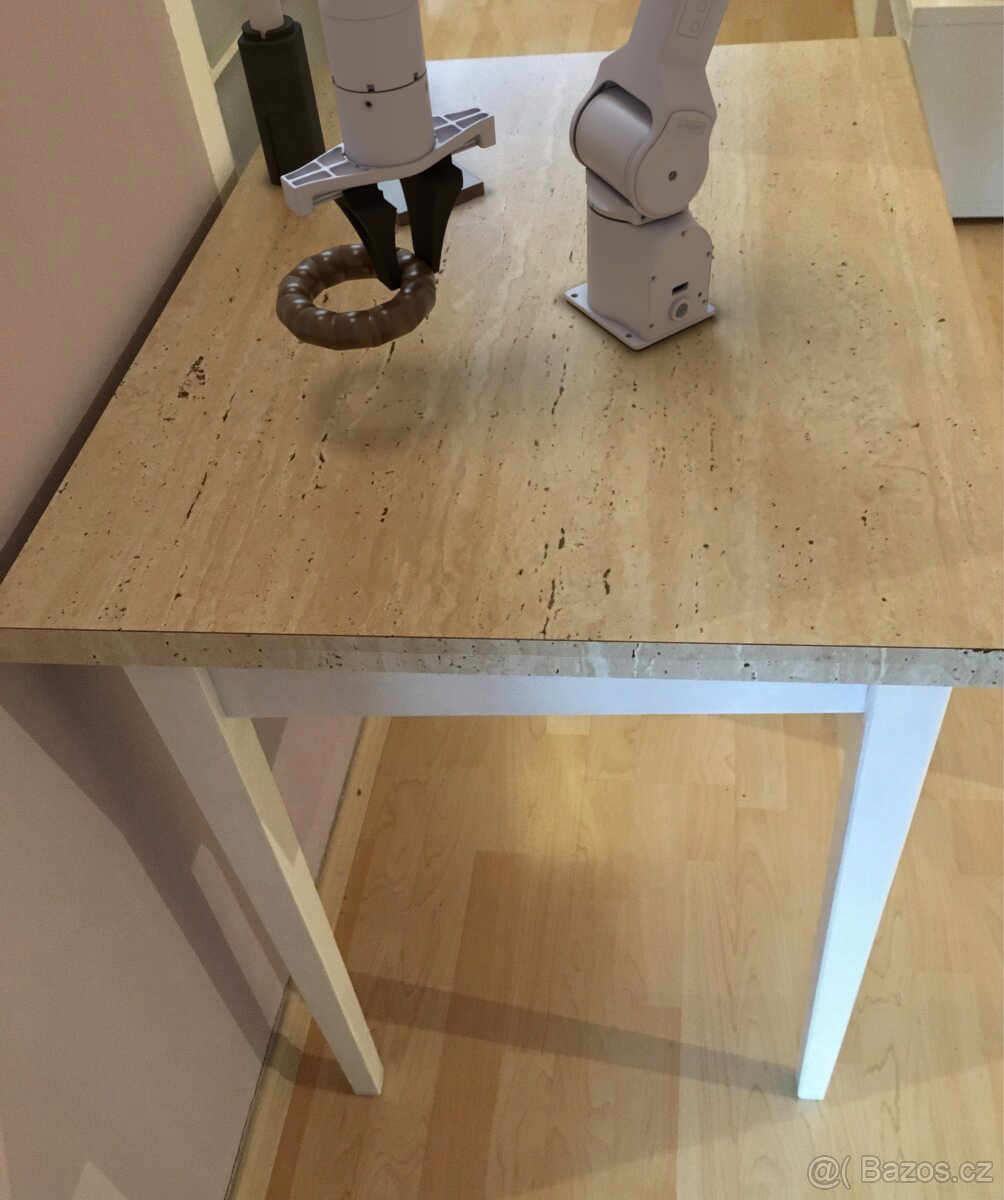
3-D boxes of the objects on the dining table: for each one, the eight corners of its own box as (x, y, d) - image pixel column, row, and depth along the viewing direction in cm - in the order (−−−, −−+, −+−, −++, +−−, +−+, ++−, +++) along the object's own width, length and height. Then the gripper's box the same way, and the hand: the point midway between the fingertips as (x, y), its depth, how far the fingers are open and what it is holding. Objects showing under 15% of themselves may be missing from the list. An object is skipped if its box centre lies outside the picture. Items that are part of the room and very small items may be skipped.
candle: (330, 158, 104) (272, -144, 85) (319, 184, 100) (256, -125, 82) (280, 159, 104) (211, -140, 85) (267, 185, 101) (193, -122, 82)
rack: (484, 194, 97) (480, 138, 93) (400, 226, 94) (392, 170, 90) (434, 158, 102) (428, 104, 98) (353, 188, 99) (343, 134, 95)
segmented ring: (467, 316, 71) (464, 284, 69) (326, 377, 68) (318, 346, 66) (388, 250, 77) (383, 220, 76) (255, 304, 74) (247, 273, 72)
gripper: (446, 20, 68) (466, 217, 78) (241, 87, 63) (290, 287, 73) (508, 53, 63) (520, 256, 74) (292, 127, 59) (337, 333, 69)
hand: (409, 275), depth 73 cm, fingers closed on segmented ring, 2 cm apart
